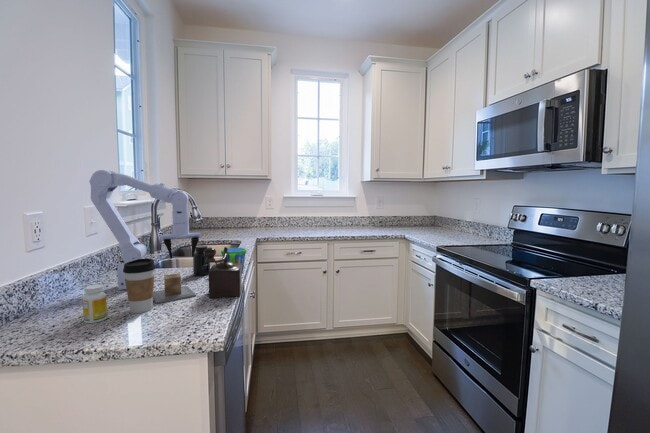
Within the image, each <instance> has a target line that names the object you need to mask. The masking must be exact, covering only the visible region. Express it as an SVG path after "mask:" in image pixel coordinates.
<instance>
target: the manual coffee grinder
mask: <svg viewBox="0 0 650 433" xmlns="http://www.w3.org/2000/svg"><path fill="white" fill-rule="evenodd" d="M223 249H224V256H222V258H221V259H215V255H216V254H217V250H216V248H214V247H207V249H205V250H204V251H203V253H204V255H205V256H206V258H207V259H206V262H208V263H210V264H212V263H215V264H213V265H212V266H210V270H209V272H208V298H209V299H231V298H233V299H234V298H240V296H241V295H242V291H243V290H242V288H243V286H242V283H243V281H242V280H243V279H242V277H243V275H242V273H243V272H242V269H241V267H242V264H234V263H231V262H228V261H227V253H228V251H227V250H228V247H227V246H224V247H223Z"/></svg>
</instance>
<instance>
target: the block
mask: <svg viewBox="0 0 650 433" xmlns="http://www.w3.org/2000/svg"><path fill="white" fill-rule="evenodd" d="M163 276H164V278H163V280H164V284H163V285H164V290H165V296H171V295H178V294H181V287H182V282H181V281H182V277H181V273H173V274H172V273H171V274H164V275H163Z"/></svg>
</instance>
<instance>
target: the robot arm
mask: <svg viewBox="0 0 650 433" xmlns="http://www.w3.org/2000/svg"><path fill="white" fill-rule="evenodd" d="M88 183H89V185H90V200H91V202H92V204H93V206H94V207H95V209H96V210H97V212H98V213H99V214H100V216H101V218H102V219H103V220H104V222H105V224H106V225H107V227H108V228H109V230H110V232H111V233H112V235H113V236H114V237H115V239H116V241H117V242H118V249H119V250H120V252H121V253H120V254H121V259H122V261H123V263H119V264H117V270H116V271H117V272H116V273H117V290H118V291H121V290H127V289H126V283H125V273H124V272H123V269H124V264H125V263H127V262H130V261H133V260H137V259H144V258H145V256H146V255H147V254H148V248H147V247H146V245H145V244H143V243H141V242H140V241H139V240H140V239H138V238H137V237H136V236H134V235H133V233H132V231H131V230H130V228H129V226H128V225H127V224H126V222H125V221H124V219H123V218H122V216H121V214H120V212H119V211H118V209H117V208H116V206H115V204H114V203H113V202H112V200H111V197H112V194H113V192H114V190H115V189H116V188H118V187H120V186H121V187H122V186H123V187H124V186H127V187H131V188H134V189H136V190H139V191H142V192H146V193H148V194H149V195H150V197H151V198H153V199H155V200H159V201H162V202H163V203H167V204H171V206H172V213H171V214H172V218H171V219H172V233H170V234H169V233H167V234H160V235H159V236H160V239H159V240H160V242H161V241H163V243H164V245H165V247H166V249H167V252H168V255H169V258H170V260H171V259H172V260H173V253H172V240H186V239H191V241H190V242H191V253H190V254H191V257H192V258H193V257H194V253H196V251H195V248H196V246H197V245H198V243H199V241H200V239H202V232H190V221H189V220H190V218H189V205H188V203H189V200H190V198H189V196H188V194H187V193H186V192H184V191H181V190H180V191H178V188H172V187H168V186H166V185H165V183H162V182H160V183H158V182H157V183H155V184H151V183H148V182H146V181H143V180H140V179H138V178H136V177H134V176H131V175H128V174H124V173H119V172H115V171H113V170H109V171H108V170H104V169H101V170H99V169H98V170H96V171H94V172H93V173H92V175H91V177H90V178H89V182H88Z"/></svg>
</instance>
